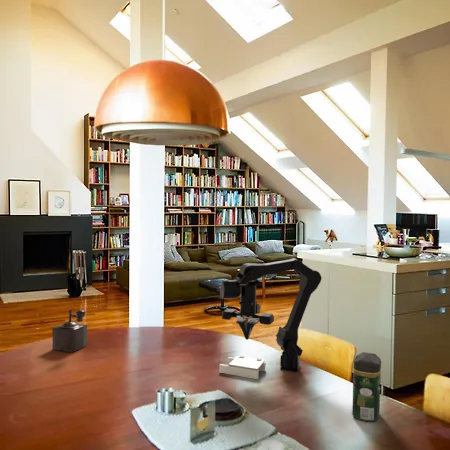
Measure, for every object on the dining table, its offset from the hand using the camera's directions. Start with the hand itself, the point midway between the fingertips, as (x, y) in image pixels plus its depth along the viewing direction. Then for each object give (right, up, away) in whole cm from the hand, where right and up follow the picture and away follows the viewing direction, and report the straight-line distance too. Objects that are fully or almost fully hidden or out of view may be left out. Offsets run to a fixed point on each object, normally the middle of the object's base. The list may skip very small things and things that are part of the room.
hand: (247, 339), depth 178 cm
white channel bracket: (-2, -12, +1) cm, 13 cm away
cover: (0, -9, +1) cm, 9 cm away
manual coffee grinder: (-72, -10, +24) cm, 76 cm away
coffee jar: (+34, -15, -33) cm, 50 cm away
